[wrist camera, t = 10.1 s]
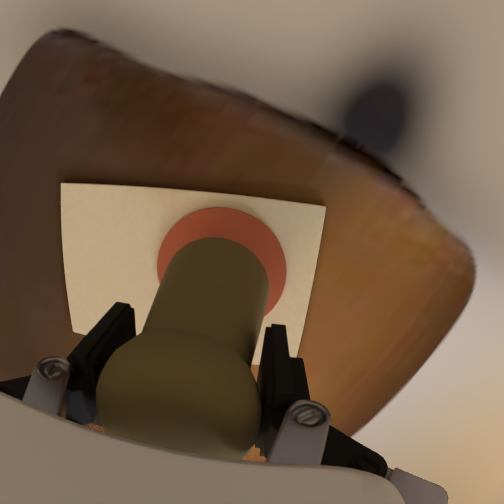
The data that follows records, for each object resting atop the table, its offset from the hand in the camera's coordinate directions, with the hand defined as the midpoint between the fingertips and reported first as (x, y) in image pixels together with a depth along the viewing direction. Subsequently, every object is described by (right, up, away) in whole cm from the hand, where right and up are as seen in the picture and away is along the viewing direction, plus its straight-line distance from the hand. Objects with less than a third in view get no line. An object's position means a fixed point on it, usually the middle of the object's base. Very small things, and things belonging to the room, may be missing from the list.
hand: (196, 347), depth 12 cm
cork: (0, +2, +6) cm, 6 cm away
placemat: (-3, +2, +9) cm, 9 cm away
